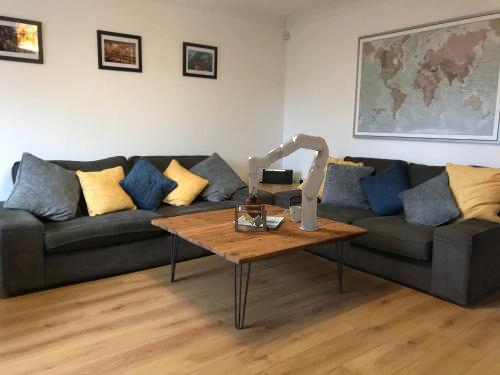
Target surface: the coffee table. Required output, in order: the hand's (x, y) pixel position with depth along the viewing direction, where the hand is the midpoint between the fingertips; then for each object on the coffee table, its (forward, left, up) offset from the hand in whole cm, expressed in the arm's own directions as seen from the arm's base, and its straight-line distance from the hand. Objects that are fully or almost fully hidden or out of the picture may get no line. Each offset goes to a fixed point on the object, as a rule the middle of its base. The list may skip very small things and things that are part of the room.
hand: (253, 201), depth 272 cm
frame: (+2, 0, -17) cm, 17 cm away
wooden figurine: (-1, -21, -18) cm, 27 cm away
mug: (-28, -18, -18) cm, 38 cm away
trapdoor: (+5, 0, -9) cm, 11 cm away
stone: (-1, 0, -15) cm, 15 cm away
